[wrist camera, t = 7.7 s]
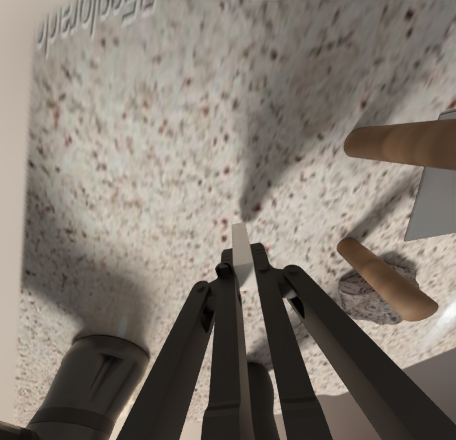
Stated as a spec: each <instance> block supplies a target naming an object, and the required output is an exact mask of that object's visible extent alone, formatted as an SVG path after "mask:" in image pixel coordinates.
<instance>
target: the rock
mask: <svg viewBox="0 0 456 440" xmlns="http://www.w3.org/2000/svg"><path fill="white" fill-rule="evenodd" d="M388 265H389V266H390V267H391V268H393V269H394V270H395V271H397V272H398V273H399V274H400V275H402V276H403V277H404V278H405V279H407V280H408V281H409V282H411V283H412V284H413V285H414V286H416V287H417V288H418V289H419V284H418V283H417V281H416V279H415V278H416V272H415V271H414V270H412V269H403V268H401V267H397V266H396V265H394V264H388ZM338 289H339V293H340V295H341V300H342V307H343V311H344V312H345V313H346V314H347V315H348V316H350V317H351V318H353V319H356V320H367V321H372V322H374V323H376V324H379V325H384V324H390V325H394V324H398V323H400V322H401V321H403V320H404V319H403V318H402V317H401V316H400V315H399V314H398V313H397V312H396V311H395V310H394V309H393V308H392V307H391V306H390V305H389V304H388V303H387V302H386V301H385V300H384V299H383V297H382V296H381V295H380V294H379V293H378V292H377V291H376V290H375V289H374V288H373V287H372V286H371V285H370V284H369V283H368V282H367V281H366V280H365V279H364V278H363V277H362V276H361V275H360V274H359V273H358V274H357V275H355V276H351V277H349V278H346V279H344V280H342V281H340V282H339V286H338Z"/></svg>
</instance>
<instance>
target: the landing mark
mask: <svg viewBox="0 0 456 440" xmlns="http://www.w3.org/2000/svg"><path fill="white" fill-rule="evenodd" d="M445 119H456V111H455V112H451V113H446V114H442V115H440V116H439V119H438V120H445ZM451 233H456V171H454V170H446V169H439V168H431V167H425V169H424V172H423V176H422V179H421V183H420V186H419V190H418V193H417V197H416V200H415V204H414V207H413V211H412V214H411V218H410V221H409V225H408V228H407V232H406V235H405V239H404V241H405V242H406V241H411V240H417V239H423V238H428V237H434V236H440V235H445V234H451Z"/></svg>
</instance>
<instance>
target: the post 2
mask: <svg viewBox="0 0 456 440" xmlns="http://www.w3.org/2000/svg"><path fill="white" fill-rule="evenodd" d="M337 251H338V253H339V254H340V255H341V256H342V257H343V258H344V259H345V260H346V261H347V262H348V263H349V264H350V265H351V266H352V267H353V268H354V269H355V270H356V271H357V272H358V273H359V274H360V275H361V276H362V277H363V278H364V279H365V280H366V281H367V282H368V283H369V284H370V285H371V286H372V287H373V288H374V289H375V290H376V291H377V292H378V293H379V294H380V295H381V296H382V297H383V299H384V300H385V301H386V302H387V303H388V304H389V305H390V306H391V307H392V308H393V309H394V310H395V311H396V312H397V313H398V314H399V315H400V316H401V317H402V318H403V319H404V320H406V321H420V320H423V319H426V318H428V317H430V316H431V315H433V314H434V313H435V312H436V311H437V310H438V304H437V303H436V302H435V301H434V300H432V299H431V298H430V297H429V296H427V295H426V294H425V293H423V292H422V291H421V290H420V289H418V288H417V287H416V286H414V285H413V284H412V283H411V282H409V281H408V280H407V279H405V278H404V277H403V276H402V275H400V274H399V273H398V272H397V271H395V270H394V269H393V268H391V267H390V266H389V265H388V264H386V263H385V262H384V261H382V260H381V259H380V258H379V257H377V256H376V255H375V254H373V253H372V252H371V251H370V250H368V249H367V248H366V247H364V246H363V245H362V244H361V243H359V242H358V241H357V240H355V239H353V238H347V239H344V240H342V241H341V242H340V243H339V244H338V246H337Z"/></svg>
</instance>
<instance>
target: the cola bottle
mask: <svg viewBox="0 0 456 440" xmlns="http://www.w3.org/2000/svg"><path fill="white" fill-rule="evenodd" d="M247 369H248V381H249V393H250V404H251V416H252V425H253V431H254V437H255V440H280V438H279V434H278V430H277V427H276V423H275V419H274V414H273V406H274V389H273V384H272V381H271V378H270V375H269V373H268V371H267V370H266V369H265V368H264V367H263V366H261V365H259V364H254V363H248V364H247Z"/></svg>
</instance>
